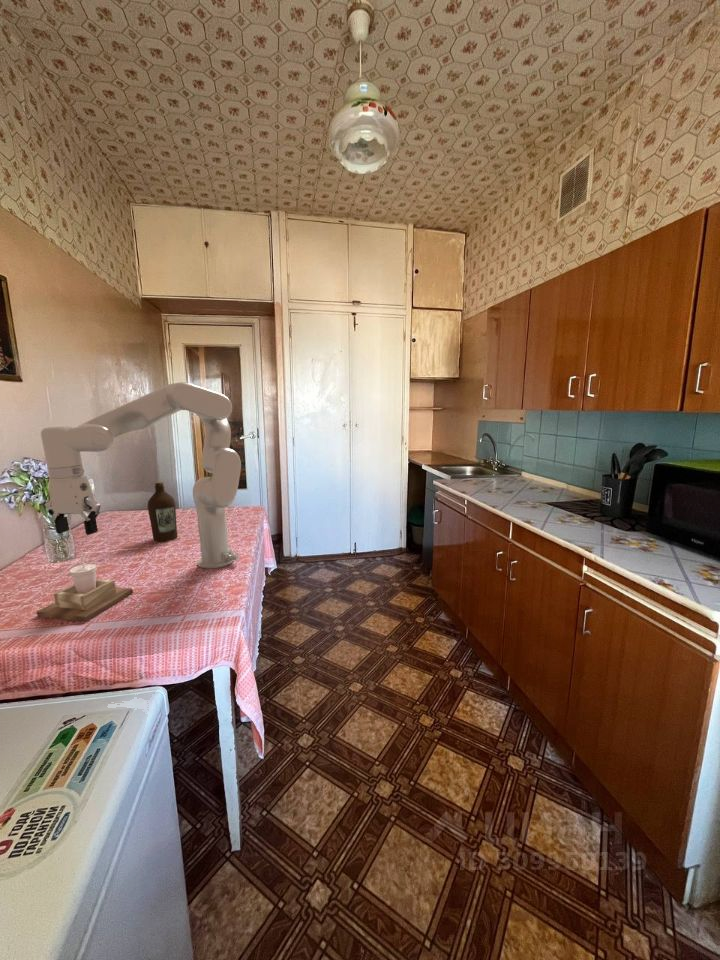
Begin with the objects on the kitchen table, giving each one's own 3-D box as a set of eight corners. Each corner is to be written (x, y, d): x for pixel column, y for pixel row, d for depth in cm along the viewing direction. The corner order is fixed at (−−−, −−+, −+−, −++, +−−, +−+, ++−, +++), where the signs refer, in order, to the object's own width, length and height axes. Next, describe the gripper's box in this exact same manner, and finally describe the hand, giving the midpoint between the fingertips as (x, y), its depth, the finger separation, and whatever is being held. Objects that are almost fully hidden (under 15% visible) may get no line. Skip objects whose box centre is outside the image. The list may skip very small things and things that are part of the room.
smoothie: (80, 607, 105) (72, 559, 102) (70, 601, 108) (62, 555, 105) (105, 597, 110) (98, 552, 108) (94, 592, 113) (88, 548, 111)
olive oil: (148, 538, 165) (141, 482, 160) (174, 532, 172) (168, 479, 167) (156, 544, 157) (149, 486, 153) (182, 538, 165) (176, 482, 160)
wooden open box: (133, 593, 115) (130, 576, 114) (86, 622, 100) (83, 603, 99) (89, 589, 119) (86, 573, 118) (37, 616, 103) (33, 598, 102)
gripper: (105, 470, 104) (114, 529, 107) (53, 470, 107) (64, 527, 111) (80, 475, 97) (91, 538, 100) (26, 475, 100) (38, 536, 104)
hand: (77, 532), depth 105 cm, fingers open, 9 cm apart
